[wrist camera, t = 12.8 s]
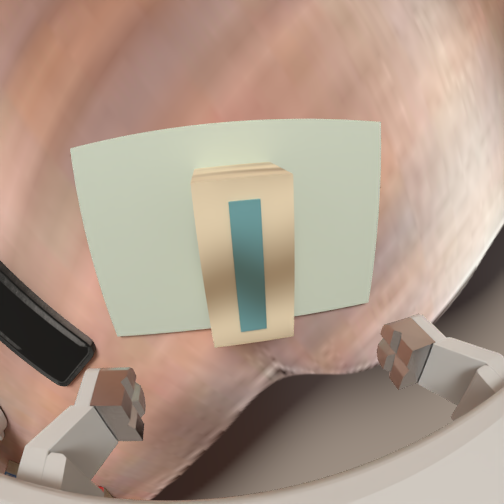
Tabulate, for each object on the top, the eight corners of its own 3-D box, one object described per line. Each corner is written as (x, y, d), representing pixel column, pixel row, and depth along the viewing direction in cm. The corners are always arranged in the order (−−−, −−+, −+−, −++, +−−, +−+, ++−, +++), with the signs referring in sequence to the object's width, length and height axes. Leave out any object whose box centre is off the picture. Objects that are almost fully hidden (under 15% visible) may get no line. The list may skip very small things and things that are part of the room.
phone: (-33, 232, 15) (98, 351, 21) (-26, 228, 16) (101, 342, 22) (-49, 292, 16) (64, 390, 22) (-43, 287, 17) (67, 382, 23)
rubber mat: (119, 332, 21) (117, 336, 21) (73, 147, 15) (70, 148, 15) (365, 299, 23) (368, 302, 23) (376, 121, 18) (380, 121, 17)
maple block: (194, 168, 17) (190, 183, 12) (269, 161, 17) (294, 174, 13) (211, 300, 21) (214, 349, 16) (274, 292, 21) (294, 337, 16)
